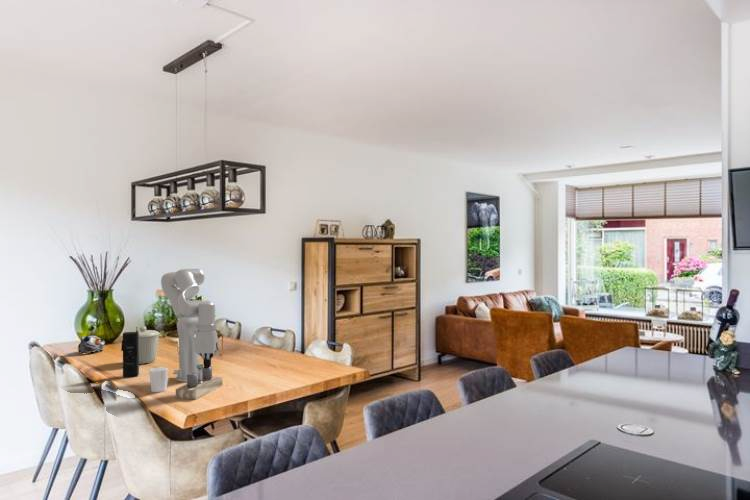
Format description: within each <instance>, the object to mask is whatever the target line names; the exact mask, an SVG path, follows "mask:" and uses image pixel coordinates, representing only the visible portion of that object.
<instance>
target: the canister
mask: <svg viewBox="0 0 750 500" xmlns="http://www.w3.org/2000/svg"><path fill="white" fill-rule="evenodd" d="M137 331H138V332H139V365H146V364H145V363H147V364H151V363H153V362H155V361H156V359H157V353H158V347H159V338H160V337H159V336H160V334H161V332H159V331H157V330H153V329H147V327H146V326H145V325H143V326H142V325H141V326H140V327H139V330H137ZM133 332H136V330H134V331H133ZM150 362H151V363H150Z"/></svg>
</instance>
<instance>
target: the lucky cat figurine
mask: <svg viewBox="0 0 750 500" xmlns="http://www.w3.org/2000/svg"><path fill="white" fill-rule="evenodd" d="M105 344H106V341H105V340H101V338H100V337H98V336H97V335H88V336H83V335H82V336H81V338H80V342H79V343H78V346H77V349H78V350H77V351H78V353H80V352H81V353H89V352H94V353H96V352H95V351H98V352H101V351H100V350H102V351H104V350H103V348H104V346H105ZM81 353H80V354H81Z"/></svg>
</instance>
